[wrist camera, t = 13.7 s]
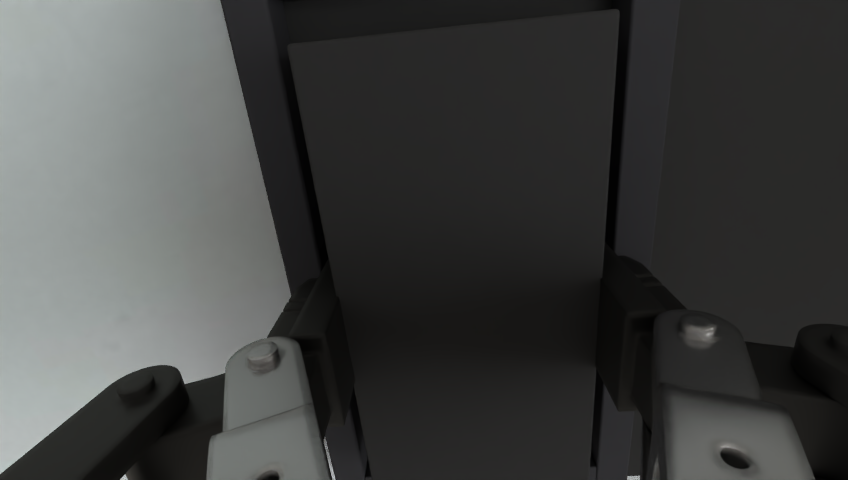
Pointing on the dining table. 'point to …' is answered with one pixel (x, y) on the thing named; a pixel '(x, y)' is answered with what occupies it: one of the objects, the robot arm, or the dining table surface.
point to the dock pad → (630, 159)
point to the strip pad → (467, 236)
